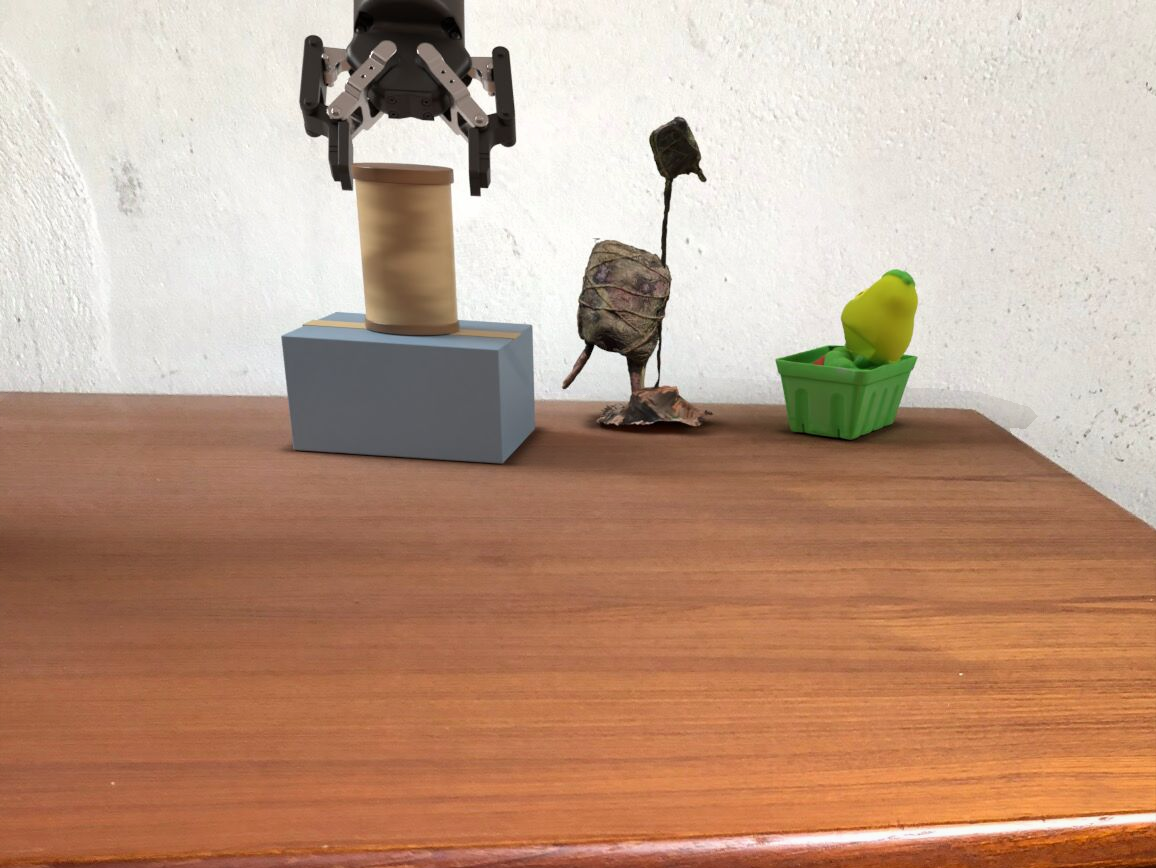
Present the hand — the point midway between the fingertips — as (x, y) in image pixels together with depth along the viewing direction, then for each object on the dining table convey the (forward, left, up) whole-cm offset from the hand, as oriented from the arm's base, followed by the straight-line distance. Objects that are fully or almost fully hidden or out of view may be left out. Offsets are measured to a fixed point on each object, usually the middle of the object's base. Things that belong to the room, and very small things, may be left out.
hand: (410, 184), depth 101 cm
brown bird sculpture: (+15, +5, -15) cm, 22 cm away
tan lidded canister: (+1, -5, -8) cm, 10 cm away
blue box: (+1, -6, -15) cm, 16 cm away
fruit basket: (+31, +8, -15) cm, 36 cm away
